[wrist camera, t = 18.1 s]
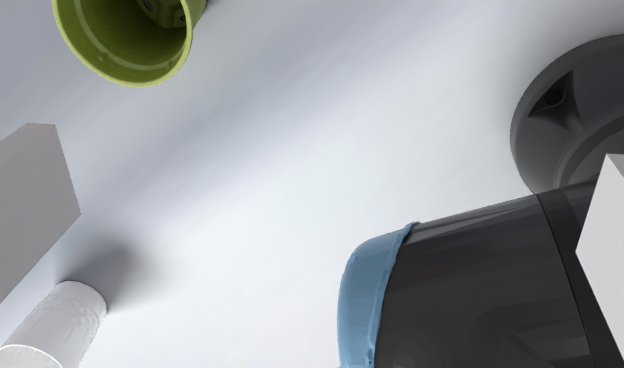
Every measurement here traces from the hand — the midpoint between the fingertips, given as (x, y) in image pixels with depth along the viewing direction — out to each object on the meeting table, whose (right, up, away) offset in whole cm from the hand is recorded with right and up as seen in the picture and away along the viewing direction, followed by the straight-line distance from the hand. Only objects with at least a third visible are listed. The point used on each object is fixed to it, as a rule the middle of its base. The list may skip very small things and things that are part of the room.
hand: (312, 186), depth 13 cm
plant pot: (-11, +15, +29) cm, 34 cm away
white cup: (-28, -14, +50) cm, 59 cm away
